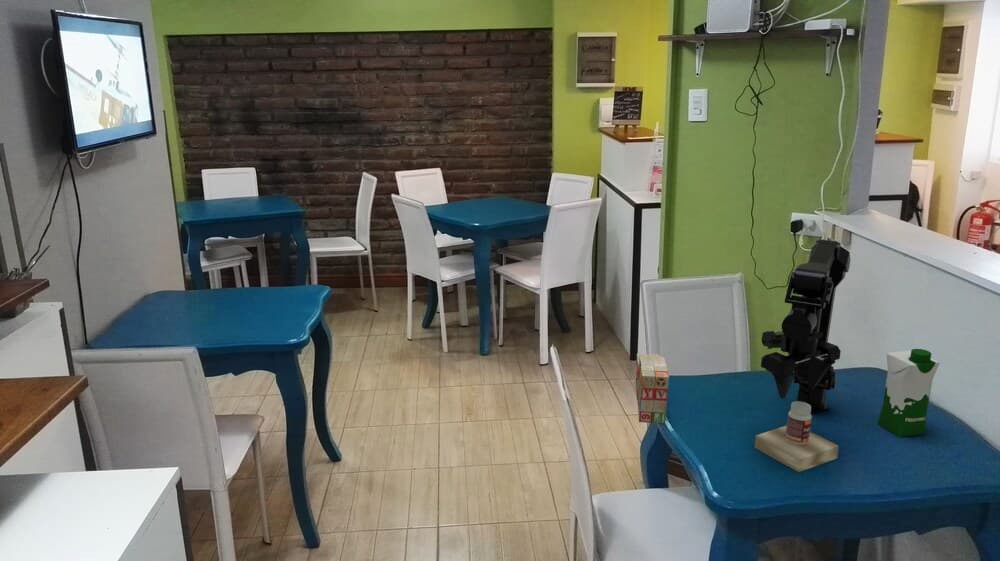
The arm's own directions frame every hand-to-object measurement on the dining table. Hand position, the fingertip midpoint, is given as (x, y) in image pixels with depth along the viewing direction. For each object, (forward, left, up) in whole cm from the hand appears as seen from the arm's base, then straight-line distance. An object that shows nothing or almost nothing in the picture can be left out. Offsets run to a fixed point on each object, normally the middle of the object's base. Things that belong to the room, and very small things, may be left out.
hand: (796, 393), depth 164 cm
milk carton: (-29, +7, -13) cm, 33 cm away
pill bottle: (+2, +3, -10) cm, 10 cm away
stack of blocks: (+14, -32, -13) cm, 37 cm away
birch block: (+2, +3, -13) cm, 13 cm away
